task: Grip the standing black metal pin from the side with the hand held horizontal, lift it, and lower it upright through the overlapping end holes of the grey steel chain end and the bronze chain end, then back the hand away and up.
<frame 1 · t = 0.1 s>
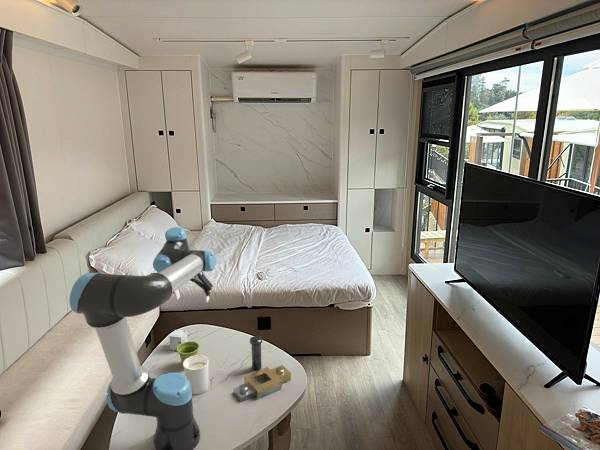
hand: (192, 299, 182), 28 cm above the table, tool tilted 20°, fingers open, 13 cm apart
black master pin: (256, 367, 181), on the table
candle holder: (197, 388, 168), on the table
grey steel chain end: (262, 386, 169), on the table
plant pot: (189, 364, 183), on the table
skincare box: (179, 347, 196), on the table
bronze chain end: (262, 386, 169), on the table
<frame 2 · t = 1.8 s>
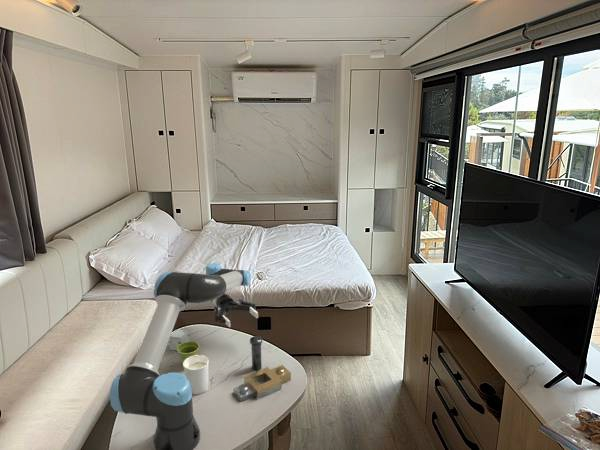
hand: (243, 319, 184), 18 cm above the table, tool horizontal, fingers open, 13 cm apart
nothing on the table moved.
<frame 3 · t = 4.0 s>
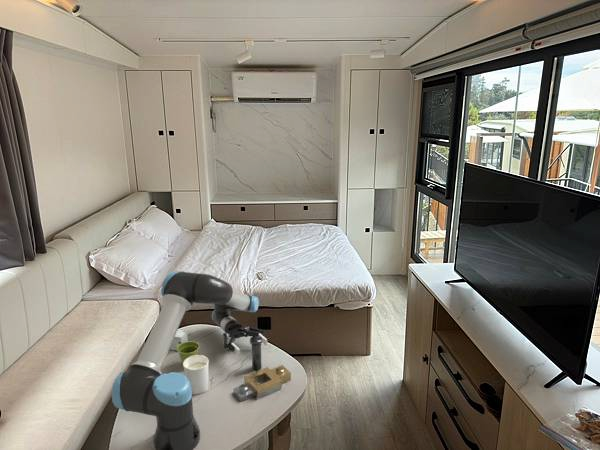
hand: (253, 347, 182), 8 cm above the table, tool horizontal, fingers open, 13 cm apart
nothing on the table moved.
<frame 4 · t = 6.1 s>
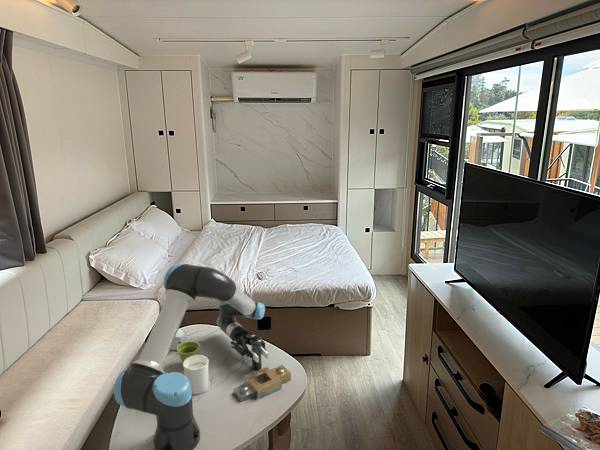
hand: (262, 357, 174), 8 cm above the table, tool horizontal, fingers closed on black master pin, 4 cm apart
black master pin: (256, 367, 181), on the table, touching gripper
everything else where it was.
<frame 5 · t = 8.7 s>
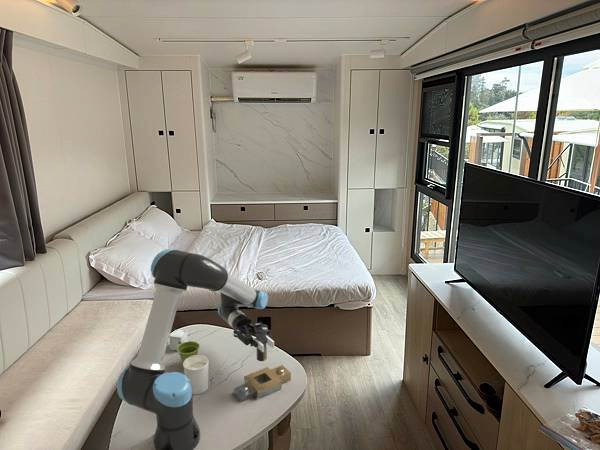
hand: (268, 346, 162), 20 cm above the table, tool horizontal, fingers closed on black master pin, 4 cm apart
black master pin: (261, 358, 168), point 12 cm above the table, touching gripper
everything else where it was.
when the fingers open (10 cm above the table, at t = 11.5 s): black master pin drops 2 cm, on the table.
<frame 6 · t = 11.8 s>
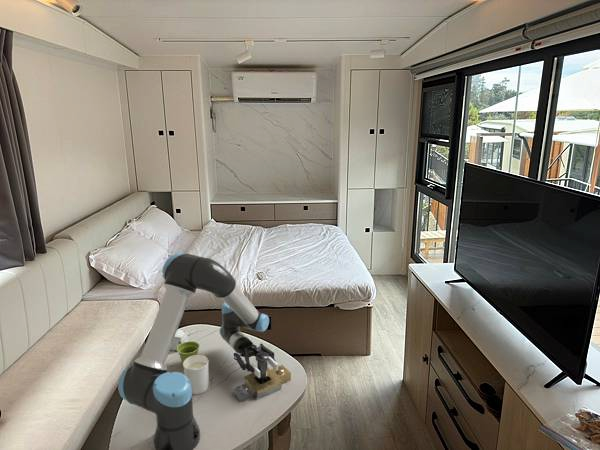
hand: (268, 371, 163), 10 cm above the table, tool horizontal, fingers open, 7 cm apart
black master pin: (262, 386, 169), on the table
everything else where it was.
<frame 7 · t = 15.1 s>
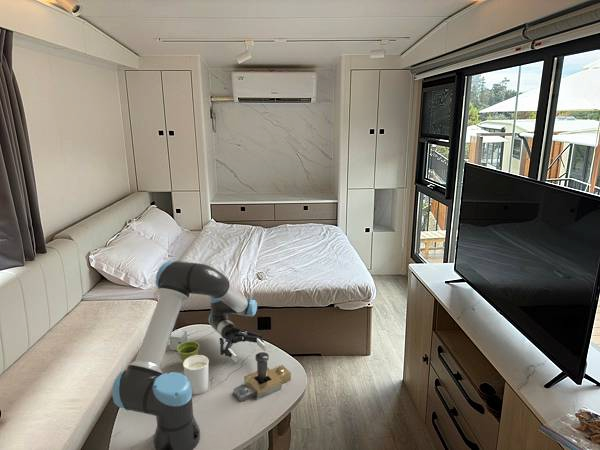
hand: (250, 353, 174), 10 cm above the table, tool horizontal, fingers open, 13 cm apart
nothing on the table moved.
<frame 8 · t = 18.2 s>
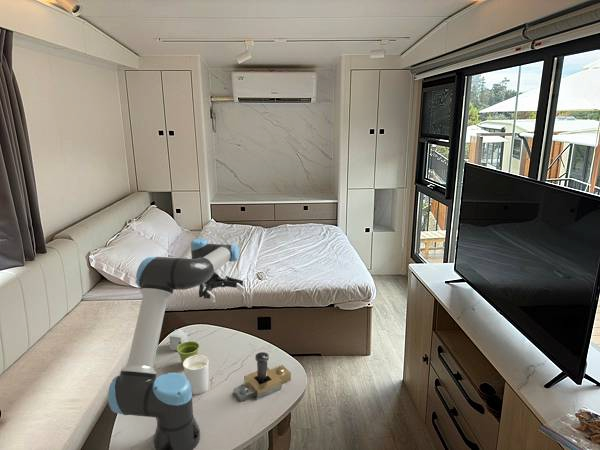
hand: (229, 295, 172), 34 cm above the table, tool horizontal, fingers open, 13 cm apart
nothing on the table moved.
at the end: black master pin 0.0 cm off-centre on the grey steel chain end, point 0.0 cm above the grey steel chain end's base; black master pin tilted 0°; the gripper is holding nothing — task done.
